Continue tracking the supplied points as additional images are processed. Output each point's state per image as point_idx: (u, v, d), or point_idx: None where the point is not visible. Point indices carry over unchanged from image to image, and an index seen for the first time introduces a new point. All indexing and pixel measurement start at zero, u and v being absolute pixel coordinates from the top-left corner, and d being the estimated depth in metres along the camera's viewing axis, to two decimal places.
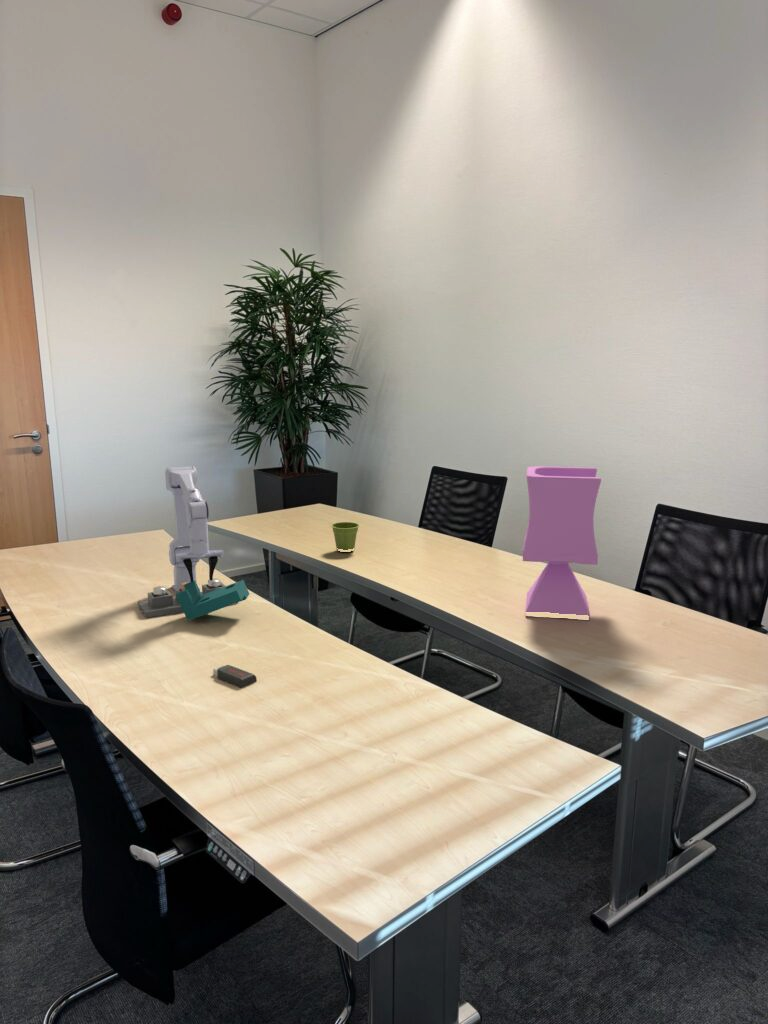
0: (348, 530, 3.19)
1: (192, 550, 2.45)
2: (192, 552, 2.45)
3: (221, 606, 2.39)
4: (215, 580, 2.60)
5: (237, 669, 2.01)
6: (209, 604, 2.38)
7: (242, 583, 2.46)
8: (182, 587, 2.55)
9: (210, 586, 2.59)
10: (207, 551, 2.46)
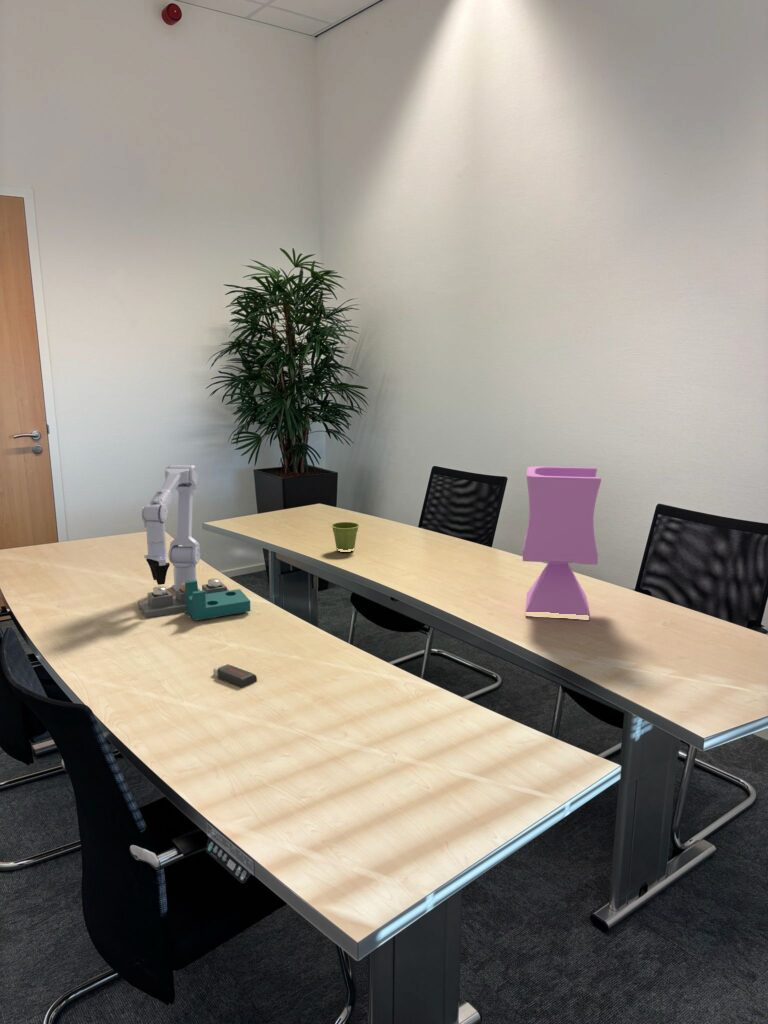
0: (348, 530, 3.19)
1: None
2: None
3: (231, 612, 2.46)
4: (215, 580, 2.60)
5: (237, 669, 2.01)
6: (220, 608, 2.44)
7: None
8: (182, 587, 2.55)
9: (210, 586, 2.59)
10: (153, 554, 2.47)
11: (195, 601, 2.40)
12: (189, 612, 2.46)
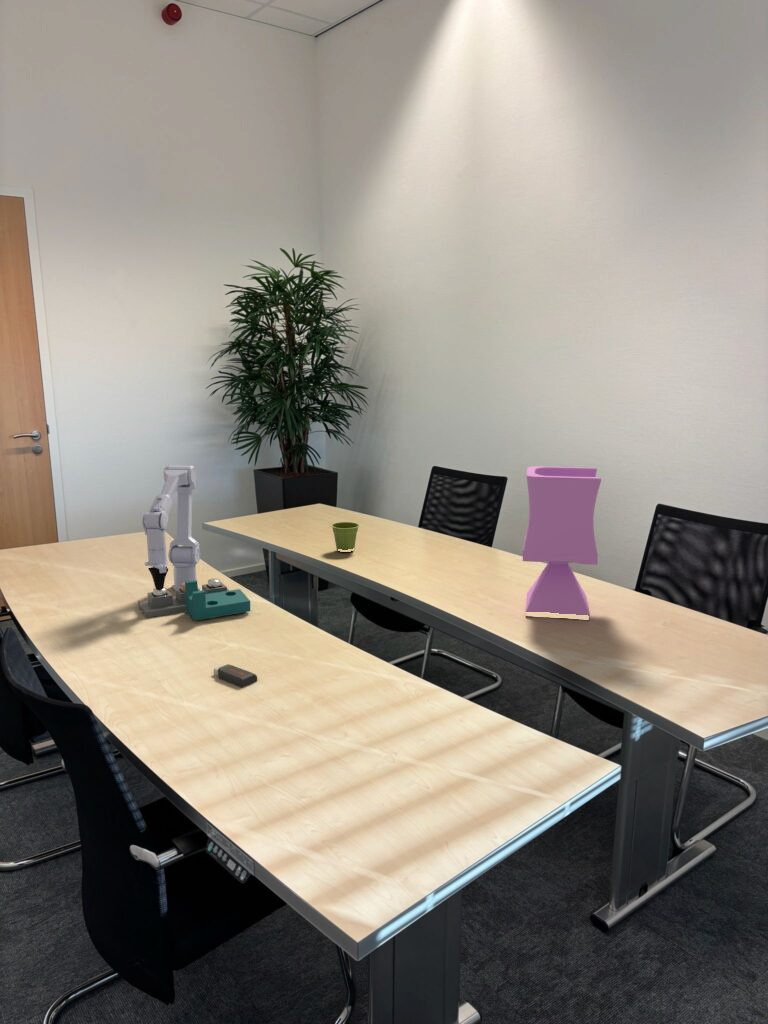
0: (348, 530, 3.19)
1: None
2: None
3: (230, 613, 2.46)
4: (215, 580, 2.60)
5: (238, 668, 2.01)
6: (220, 608, 2.44)
7: None
8: (182, 587, 2.55)
9: (210, 586, 2.59)
10: (153, 562, 2.48)
11: (195, 601, 2.40)
12: (189, 612, 2.46)
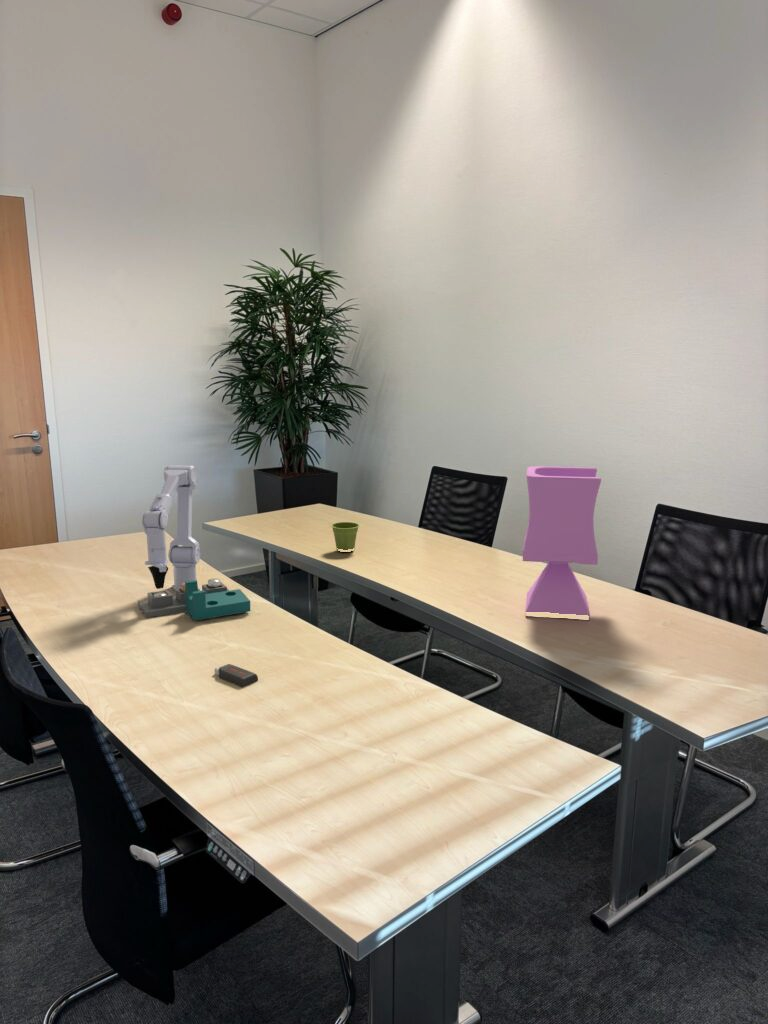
0: (348, 530, 3.19)
1: None
2: None
3: (230, 613, 2.46)
4: (215, 580, 2.60)
5: (238, 668, 2.02)
6: (220, 608, 2.44)
7: None
8: (182, 587, 2.55)
9: (210, 586, 2.59)
10: (153, 561, 2.48)
11: (195, 601, 2.40)
12: (189, 612, 2.46)
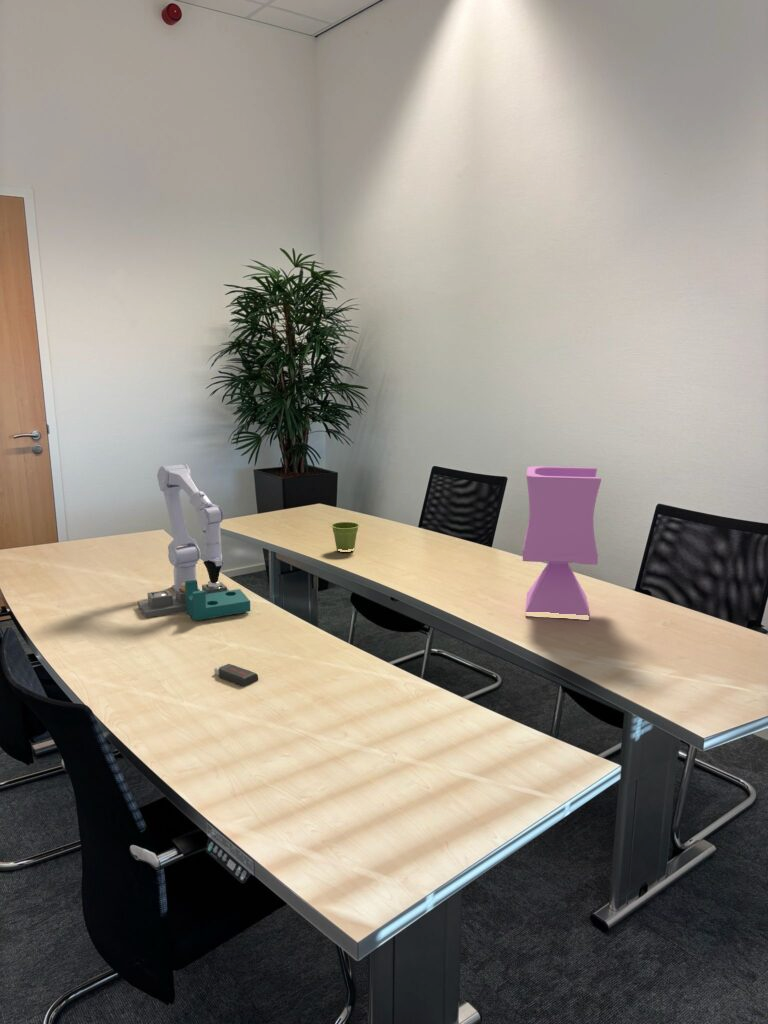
0: (348, 530, 3.19)
1: None
2: None
3: (230, 613, 2.46)
4: (215, 582, 2.60)
5: (238, 668, 2.02)
6: (220, 608, 2.44)
7: None
8: (182, 587, 2.55)
9: (210, 588, 2.59)
10: (209, 555, 2.56)
11: (195, 601, 2.40)
12: (189, 612, 2.46)
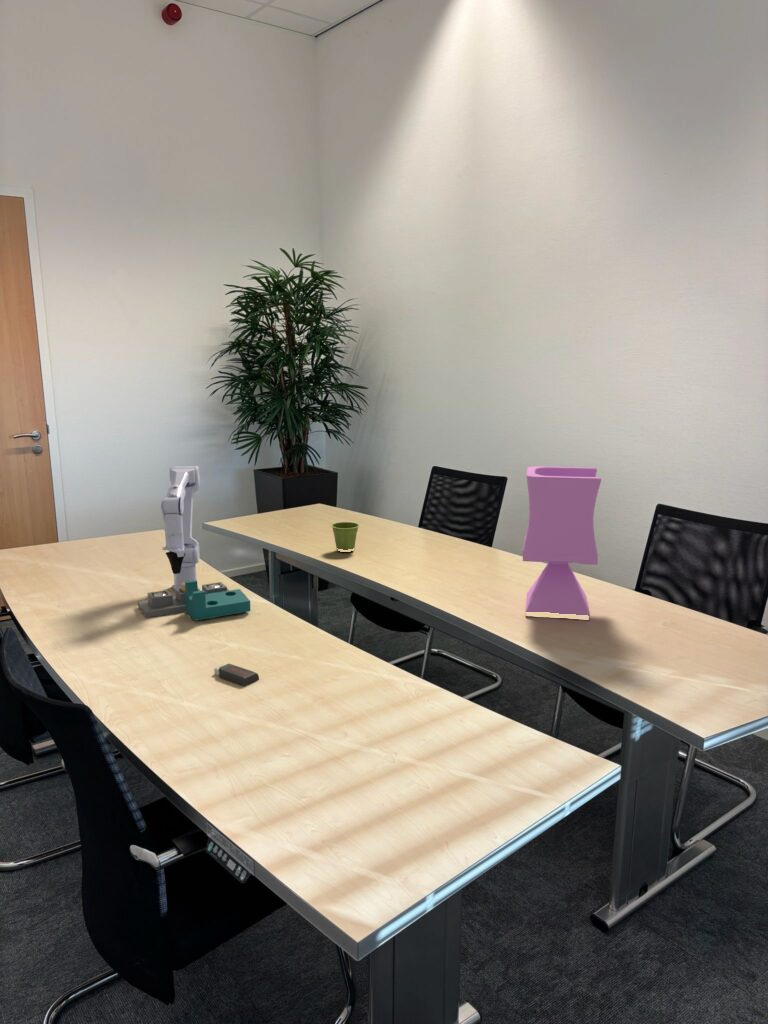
0: (348, 530, 3.19)
1: None
2: None
3: (230, 613, 2.46)
4: (215, 586, 2.61)
5: (239, 668, 2.02)
6: (220, 608, 2.44)
7: None
8: (182, 587, 2.55)
9: None
10: (171, 546, 2.54)
11: (195, 601, 2.40)
12: (189, 612, 2.46)
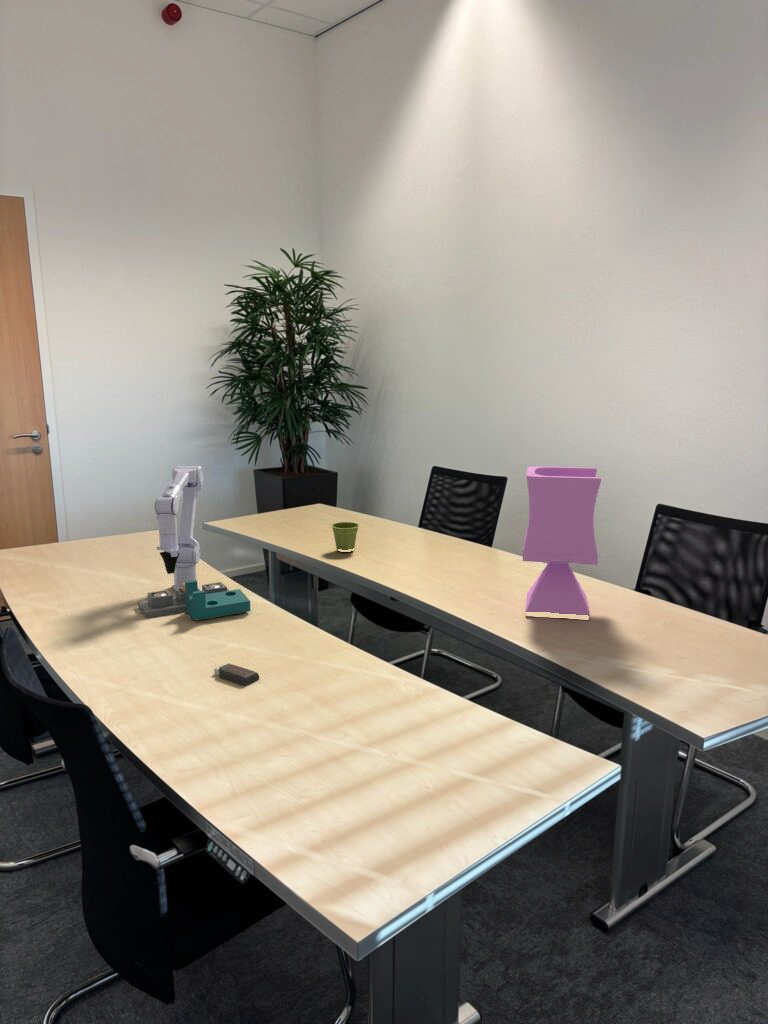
0: (348, 530, 3.19)
1: None
2: None
3: (230, 613, 2.46)
4: (215, 586, 2.61)
5: (239, 667, 2.02)
6: (220, 608, 2.44)
7: None
8: (182, 587, 2.55)
9: None
10: (165, 546, 2.53)
11: (195, 601, 2.40)
12: (189, 612, 2.46)
